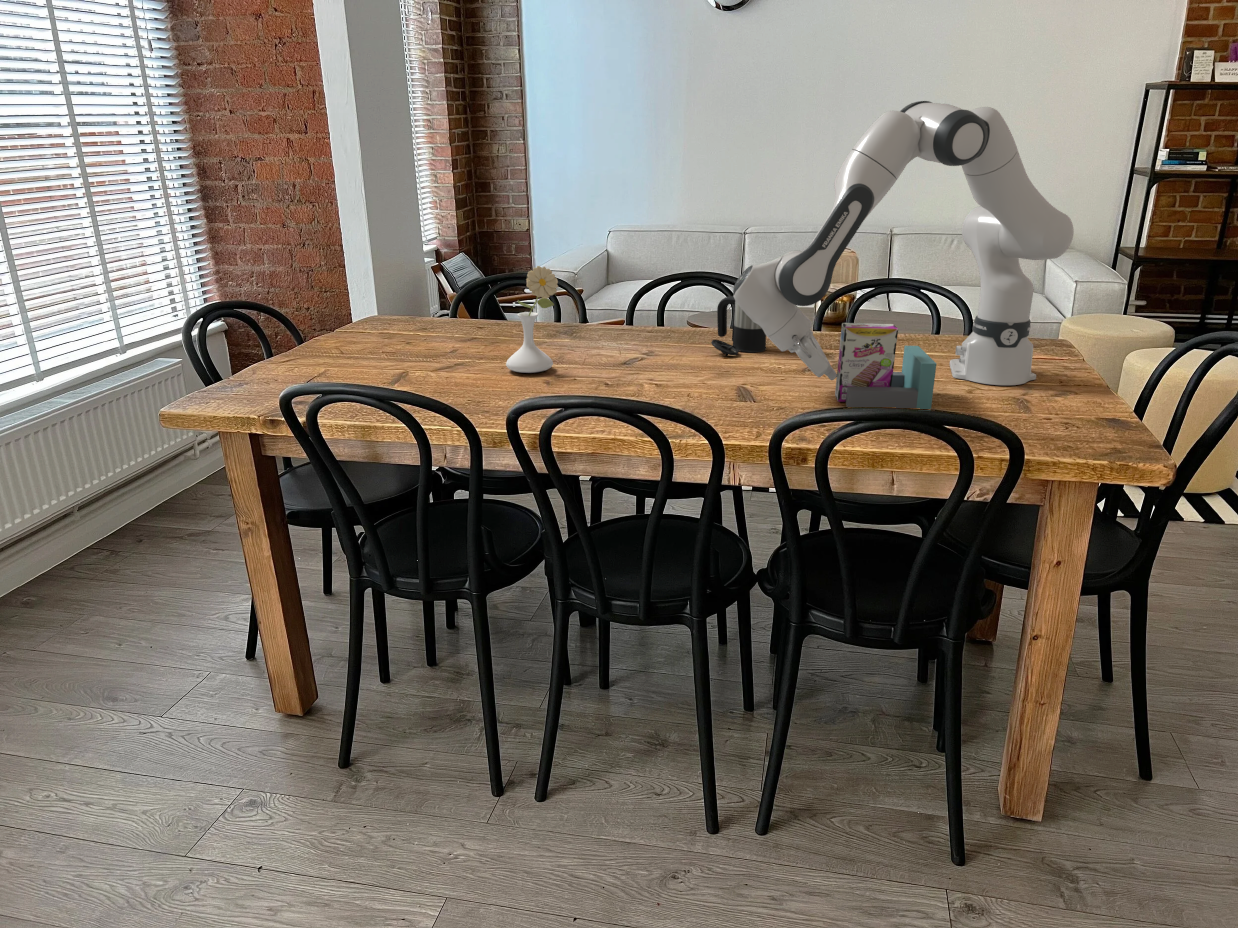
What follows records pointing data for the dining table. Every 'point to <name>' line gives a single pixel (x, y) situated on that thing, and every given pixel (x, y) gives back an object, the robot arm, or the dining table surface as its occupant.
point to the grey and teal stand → (901, 385)
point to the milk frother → (738, 330)
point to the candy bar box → (865, 356)
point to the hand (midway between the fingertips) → (834, 376)
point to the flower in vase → (529, 354)
